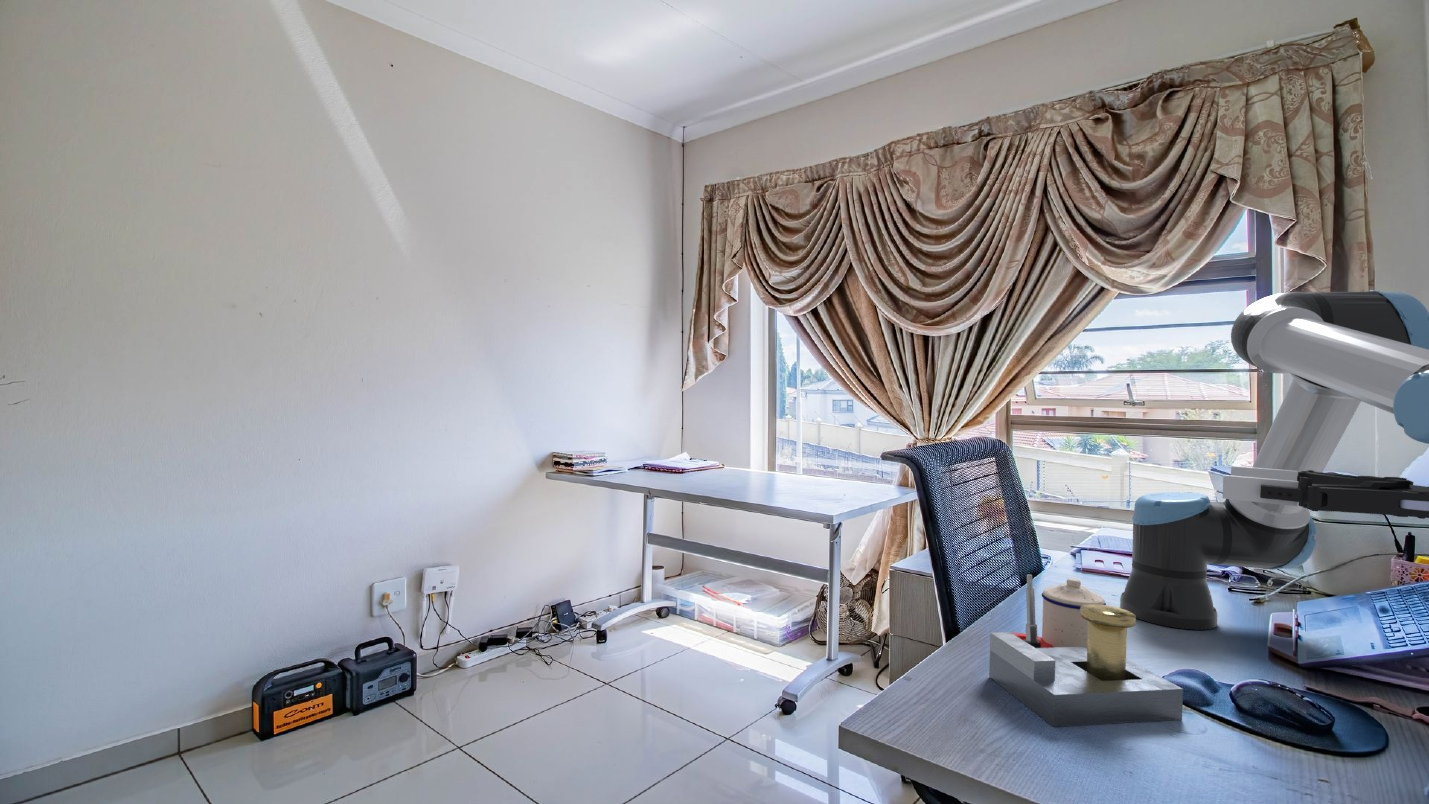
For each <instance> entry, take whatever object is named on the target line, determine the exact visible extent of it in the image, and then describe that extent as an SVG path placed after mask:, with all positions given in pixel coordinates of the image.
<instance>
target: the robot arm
mask: <svg viewBox="0 0 1429 804" xmlns="http://www.w3.org/2000/svg"><path fill="white" fill-rule="evenodd" d="M1230 340H1231V342H1230V343H1231V344H1232V348H1233V350H1234V351H1235V353H1236V355H1237V356H1238V357H1239V358H1241V359H1242V360H1243V361H1245V362H1246V363H1248V364H1249V365H1251V366H1253V367H1255V368H1258V369H1260V370H1262V371H1265V372H1268V373H1272V374H1279V375H1280V374H1290V375H1291V377H1292V378H1293V379H1292V380H1291V383H1290V385H1289V387H1288V389H1287V392H1286V393H1285V396H1284V398H1283V400H1282V402H1281V405H1280V407H1279V409H1278V411H1277V414H1276V415H1275V418H1274V420H1273V422H1272V424H1271V426H1270V428H1269V431H1268V433H1267V434H1266V437H1265V439H1264V441H1263V444H1262V445H1261V447H1260V450H1259V452H1258V453H1257V456H1256V458H1255V460H1254V462H1253V464H1252V466H1251V467H1249V466H1239V465H1238V466H1237V465H1230V475H1229V474H1223V477H1222V499H1225V500H1224V501H1223V502H1222V501H1211V500H1210V498H1209V497H1208V496H1207V495H1205V494H1203V493H1199V492H1198V493H1197V492H1180V491H1170V492H1169V491H1167V492H1166V491H1165V492H1156V493H1155V492H1154V493H1148V494H1144V495H1141V496H1140V497H1138V498H1137V499H1136V500H1135V502H1134V506H1133V507H1134V509H1133V516H1132V519H1131V520H1132V554H1131V557H1132V558H1131V559H1132V561H1131V562H1132V563H1131V571H1130V575H1129V576H1128V579H1127V582H1126V584H1125V587H1124V592H1123V591H1122V593H1121V595H1120V599H1119V600H1120V602H1119V603H1120V604H1119V608H1121V609H1124V610H1127V611H1129V612H1131V613H1133V614H1134V615H1135V616H1136V619H1138V620H1141V621H1144V622H1148V623H1151V624H1156V625H1160V626H1164V627H1169V628H1177V629H1185V630H1212V629H1215V628H1216V627H1217V626H1218V611H1217V608H1215V607H1214V602H1213V598H1212V595H1211V592H1210V591H1211V590H1210V588H1209V585H1208V582H1207V578H1208V576H1207V573H1208V572H1207V571H1208V565H1217V566H1229V567H1238V568H1239V567H1241V568H1255V569H1263V570H1273V571H1274V570H1291V569H1295V568H1298V567H1300V566H1302V565H1303V564H1305V563H1306V562H1307V561H1308V560H1309V559H1310V558H1311V557H1312V556H1313V554H1314V551H1315V549H1316V545H1317V540H1316V539H1315V537H1316V536H1317V535H1318V532H1317V526H1316V524H1315V522H1314V520H1313V518H1312V516H1311V512H1334V513H1335V512H1337V513H1349V514H1350V513H1351V514H1355V513H1356V514H1366V515H1368V514H1370V515H1384V516H1385V515H1387V516H1392V517H1399V518H1408V517H1412V518H1417V519H1422V520H1424V519H1429V486H1425V485H1417V484H1414V481H1412V480H1410V479H1408V478H1407V477H1398V476H1384V477H1381V476H1373V475H1349V474H1343V473H1342V474H1341V473H1332V472H1324V471H1325V469H1326V467H1327V465H1328V463H1329V461H1330V460H1331V457H1332V456H1333V454H1334V452H1335V451H1336V449H1337V447H1338V445H1339V442H1340V441H1341V439H1342V437H1343V435H1344V434H1345V432H1346V430H1347V427H1348V426H1349V424H1350V423H1351V421H1352V419H1353V417H1354V415H1355V414H1356V411H1357V410H1358V408H1359V406H1360V404H1361V403H1362V402H1363V403H1365V404H1367V405H1370V406H1373V407H1376V408H1378V409H1380V410H1382V411H1386V412H1388V413H1390V414H1393V416H1394V419H1395V422H1396V424H1397V426H1399V427H1402V429H1403V432H1404V434H1405V435H1406V436H1407V437H1408V438H1410V439H1412V440H1414V441H1417V442H1420V443H1422V444H1428V445H1429V311H1428V308H1426V306H1425V305H1424V304H1423V303H1422V302H1421V301H1420V300H1419V299H1418V298H1416V297H1414V296H1413V295H1412V294H1411V295H1410V294H1408V293H1405V292H1397V291H1396V292H1392V291H1380V290H1376V289H1374V290H1373V289H1372V290H1371V289H1370V290H1368V291H1319V292H1318V291H1316V292H1315V291H1313V292H1311V291H1310V292H1308V291H1307V292H1304V291H1303V292H1302V291H1290V292H1282V293H1281V292H1279V293H1275V294H1272V295H1269V296H1265V297H1263V298H1261V299H1259V300H1256V301H1255V302H1252V303H1251V304H1250V305H1248V306H1247V307H1246V308H1244V310H1243V311H1241V312H1240V313H1239V314H1238V316H1237V317H1236V319H1235V320H1234V322H1233V324H1232V327H1231V332H1230ZM1310 511H1311V512H1310Z"/></svg>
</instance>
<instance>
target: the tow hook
mask: <svg viewBox="0 0 1429 804" xmlns="http://www.w3.org/2000/svg"><path fill="white" fill-rule="evenodd" d="M1026 584H1027V585H1026V587H1025V600H1026V601H1025V603H1026V606H1025V607H1026V624H1025V633H1024V632H1023V633H1021V632H1020V633H1019V632H1011V633H1012V634H1014V635H1015V636H1017V637H1018V638H1020V639H1022V640H1023V641H1025V642H1027V643H1028V644H1030V645H1031V646H1033V647H1035V648H1053V646H1052V645H1051V644H1048V643H1046V642H1045V641H1044V640H1043V639H1042V636H1039V635H1038V624H1037V623H1036V603H1035V588H1034V587H1033V586H1034V585H1033V575H1032V574H1026Z"/></svg>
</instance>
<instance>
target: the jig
mask: <svg viewBox="0 0 1429 804" xmlns="http://www.w3.org/2000/svg"><path fill="white" fill-rule="evenodd" d="M1012 633H1013V632H1010V631H1000V632H999V631H998V632H990V634H989V635H990V638H989V639H990V640H989V644H990V645H989V674H988V676H989V678H990V679H991V680H992V679H993V680H992V681H994V683H996V684H998V686H1000V687H1002V688H1003V690H1005V691H1007V692H1008V693H1009V694H1010V695H1012V696H1013V697H1015V698H1016V699H1017V700H1018V701H1020V702H1021V703H1022V704H1023V705H1024V706H1026V707H1027V708H1028V709H1030V710H1031V711H1032V712H1034V713H1035V714H1036V715H1037V716H1039V717H1040V718H1041V719H1042V720H1043V721H1045V722H1047V723H1048V724H1049V725H1050V726H1051V727H1053V728H1057V727H1061V728H1062V727H1076V726H1077V727H1078V726H1093V725H1094V726H1096V725H1112V724H1113V725H1114V724H1116V725H1117V724H1131V723H1150V722H1167V721H1169V722H1170V721H1183V705H1184V704H1183V701H1184V699H1183V698H1184V696H1183V695H1184V688H1182V687H1180V685H1179V686H1178V685H1176V684H1175V683H1173V682H1171V681H1169V680H1167V679H1165V678H1163V677H1161V676H1159V675H1158V674H1156V673H1154V672H1152V671H1151V670H1148V669H1146V668H1144V667H1143V666H1140V665H1139V664H1137V663H1135V662H1133V661H1131V660H1130V659H1128V658H1126V676H1125V680H1116V681H1101V680H1099V679H1098V678H1096V677H1094V676H1093V675H1091V674H1089V673H1088V672H1087V646H1081V647H1053V648H1035V647H1033V646H1031V645H1030V644H1028V643H1027V642H1025V641H1023V640H1022V639H1020V638H1018V637H1017V636H1015V635H1014V634H1012Z"/></svg>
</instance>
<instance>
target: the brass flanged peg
mask: <svg viewBox="0 0 1429 804" xmlns="http://www.w3.org/2000/svg"><path fill="white" fill-rule="evenodd" d="M1080 616H1081V617H1082V618H1084V619H1085V620H1087V621H1088V639H1087V672H1088V673H1089V674H1091V675H1093V676H1094V677H1096V678H1098V679H1099V680H1101V681H1116V680H1125V676H1126V659H1127V640H1128V638H1127V637H1128V628H1133V627H1135V626H1136V624H1137V623H1136V622H1137V618H1136V616H1135V615H1134V614H1133V613H1131V612H1129V611H1127V610H1124V609H1121V608H1120V607H1117V606H1112V605H1109V604H1108V605H1107V604H1106V605H1100V604H1086V605H1082V606H1081V607H1080Z"/></svg>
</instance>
